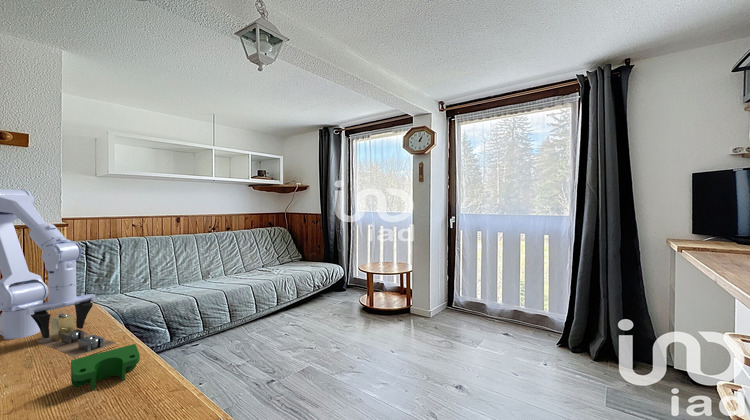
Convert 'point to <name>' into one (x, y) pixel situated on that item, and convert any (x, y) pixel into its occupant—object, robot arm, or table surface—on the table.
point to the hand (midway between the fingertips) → (63, 332)
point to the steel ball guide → (82, 340)
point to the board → (71, 346)
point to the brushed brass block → (62, 325)
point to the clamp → (104, 365)
